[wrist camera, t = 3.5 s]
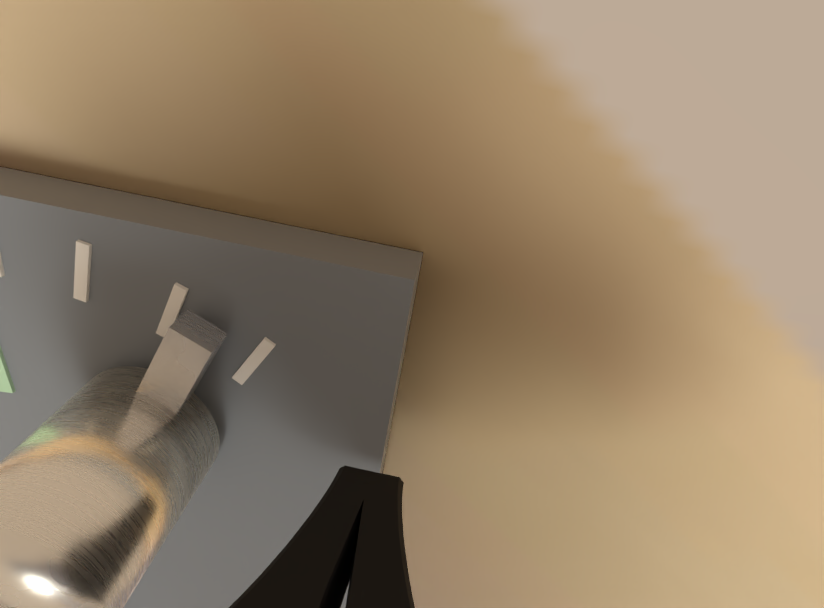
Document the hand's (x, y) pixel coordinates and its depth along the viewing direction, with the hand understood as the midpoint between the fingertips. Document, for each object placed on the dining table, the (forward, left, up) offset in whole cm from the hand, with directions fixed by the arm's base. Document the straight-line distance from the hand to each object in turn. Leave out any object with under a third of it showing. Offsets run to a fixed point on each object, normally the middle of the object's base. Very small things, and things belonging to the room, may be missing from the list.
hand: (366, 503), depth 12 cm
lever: (-4, +7, -1) cm, 8 cm away
